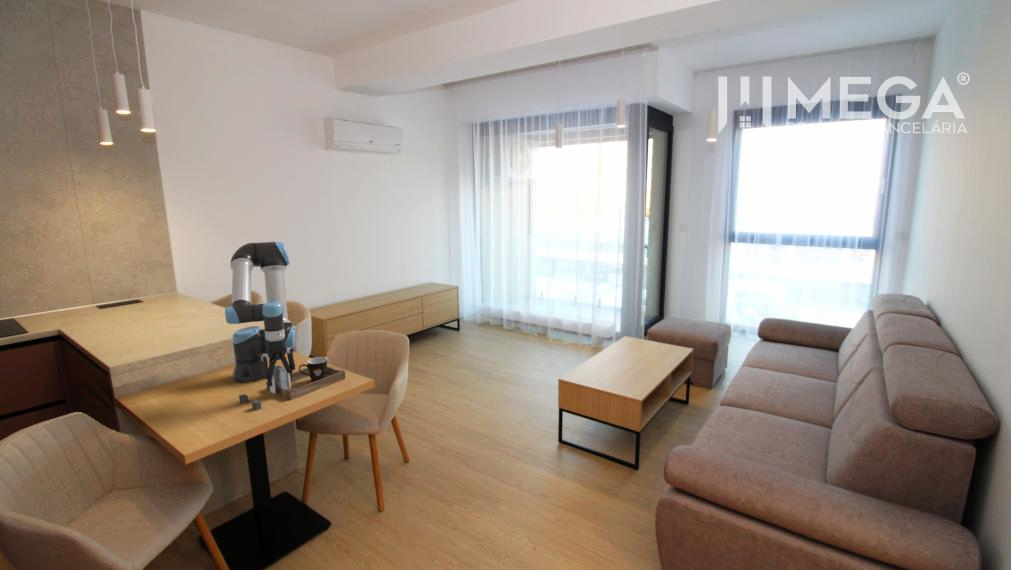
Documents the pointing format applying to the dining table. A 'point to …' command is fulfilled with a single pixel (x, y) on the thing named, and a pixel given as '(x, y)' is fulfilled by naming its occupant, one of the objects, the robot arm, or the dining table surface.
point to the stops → (255, 404)
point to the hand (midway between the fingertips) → (280, 389)
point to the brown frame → (291, 393)
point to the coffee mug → (316, 368)
